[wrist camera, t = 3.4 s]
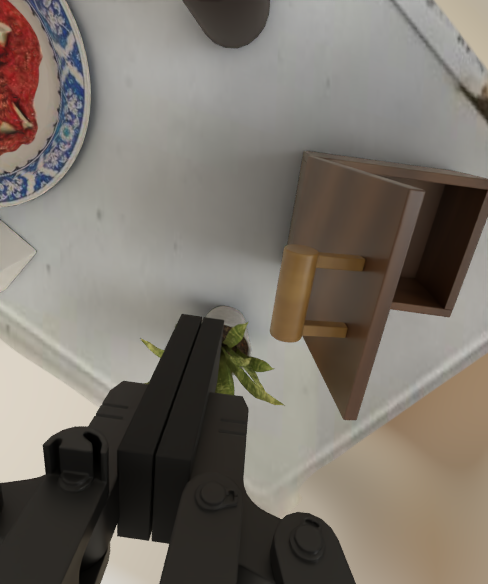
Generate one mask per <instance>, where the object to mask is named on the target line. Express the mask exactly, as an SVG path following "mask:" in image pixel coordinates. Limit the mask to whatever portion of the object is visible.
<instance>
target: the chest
mask: <svg viewBox="0 0 488 584" xmlns="http://www.w3.org/2000/svg"><path fill="white" fill-rule="evenodd" d="M308 156H315V157H319V158H323V159H326V160H329V161H332V162H336V163H339V164H342V165H345V166H348V167H352V168H355V169H358V170H361V171H365V172H368V173H371V174H374V175H377V176H381V177H384V178H387V179H390V180H394V181H397V182H400V183H403V184H406V185H410V186H413V187H416V188H419V189H423V190H425V195H424V198H423V202H422V205H421V208H420V212H419V215H418V218H417V222H416V225H415V228H414V231H413V235H412V238H411V241H410V245H409V248H408V251H407V255H406V258H405V261H404V265H403V268H402V271H401V274H400V278H399V281H398V284H397V288H396V291H395V294H394V298H393V301H392V304H391V308H390V309H393V310H401V311H408V312H415V313H422V314H429V315H436V316H444V317H450V316H451V313H452V310H453V308H454V305H455V303H456V300H457V297H458V295H459V292H460V289H461V286H462V284H463V281H464V278H465V276H466V273H467V270H468V268H469V265H470V262H471V260H472V257H473V254H474V252H475V249H476V246H477V244H478V241H479V238H480V236H481V233H482V230H483V227H484V225H485V222H486V219H487V217H488V179H487V178H483V177H478V176H474V175H470V174H465V173H461V172H456V171H451V170H443V169H436V168H429V167H421V166H414V165H407V164H399V163H392V162H385V161H377V160H370V159H363V158H355V157H348V156H341V155H333V154H326V153H319V152H311V151H304V152H303V157H302V163H301V169H300V175H299V180H298V186H297V192H296V198H295V203H294V209H293V215H292V220H291V226H290V232H289V238H288V243H287V245H291V244H293V238H294V233H295V227H296V222H297V216H298V210H299V205H300V199H301V194H302V188H303V183H304V177H305V171H306V166H307V160H308Z"/></svg>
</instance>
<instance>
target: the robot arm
mask: <svg viewBox="0 0 488 584" xmlns="http://www.w3.org/2000/svg"><path fill="white" fill-rule="evenodd" d="M223 328H224V320H222V319H215V318H207V317H204V318H203V321H202V317H200V316H193V315H186V314H181V317H180V319H179V321H178V323H177V325H176V327H175V329H174V331H173V333H172V336H171V338H170V340H169V342H168V344H167V346H166V348H165V350H164V352H163V354H162V357H161V359H160V361H159V363H158V365H157V367H156V369H155V371H154V373H153V375H152V378H151V380H150V382H149V384H142V383H135V382H128V381H123V382H121V383H120V384H118V385H117V386H116V387H114V388H113V389H112V390H110V392H109V393H108V395H107V397H106V398H105V400H104V401H103V404H102V405H101V406H100V408H99V410H98V411H97V413H96V416H94V418H93V420H92V421H91V423H90V425H89V426H88V427H72V428H69V429H65V430H62V431H60V432H59V433H57V434H55V435H53V436H51V437H50V438H49V439H48V440H47V441H46V442H45V443H44V444H43V452H44V461H45V471H46V475H43V476H41V477H37V478H33V479H28V480H21V481H13V482H7V483H0V584H100V583H101V580H102V578H103V575H104V572H105V569H106V567H107V564H108V561H109V555H110V541H111V538H112V535H113V533H114V530H115V528H116V525H117V533H118V535H117V536H120V537H127V538H134V539H141V540H147V541H149V538H150V535H151V532H152V541H155V542H161V543H168V544H169V547H168V552H167V555H166V559H165V563H164V567H163V571H162V576H161V580H160V584H356V583H355V581H354V578H353V575H352V573H351V570H350V568H349V565H348V563H347V561H346V558H345V555H344V553H343V550H342V548H341V545H340V543H339V540H338V539H337V537H336V535H335V533H334V532H333V530H332V529H331V527H329V526H328V525H327V524H326V523H325V522H324V521H323V520H322V519H320V518H318V517H316V516H314V515H311V514H310V513H301V512H296V513H292V514H289V515H286V516H285V517H284V518H283V519H280V518H278V517H276V516H273V515H271V514H269V513H267V512H265V511H264V510H262V509H260V508H259V507H258V506H257V505H255V504H254V503H253V502H252V501H251V499H250V498H249V496H248V495H247V493H246V490H245V488H244V481H243V475H244V462H245V449H246V434H247V422H248V407H247V405H246V403H245V401H244V399H243V396H235V395H228V394H221V393H215V389H216V385H217V379H218V370H219V362H220V353H221V345H222V337H223Z"/></svg>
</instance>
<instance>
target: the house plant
mask: <svg viewBox="0 0 488 584" xmlns="http://www.w3.org/2000/svg"><path fill="white" fill-rule="evenodd" d="M206 317H207V318H215V319H222V320H224V328H223V337H222V345H221V353H220V362H219V370H218V379H217V385H216V389H215V393H221V394H228V395H234V382H233V378H232V375H236V377H237V378H238V379H239V381H240V382H241V384H242V385H243V386H244V387H245V388H246V389H247V391H248V392H249V393H251V394H252V395H253V396H254V397H255V398H258V399H260V400H264V401H267V402H269V403H271V404H274V405H283V404H282V403H281V402H279V401H278V400H276V399H274V398H273V397H272V396H270V395H269V394H267V393H266V392H265V390H264V388H263V386H262V385H261V383H260V382H259V379H258V377H257V374H256V372H265V371H269V370H272V369H274V368H271V366H270V365H269V364H268V363H266V362H265V361H263V360H260V359H257V358H254V357H251V345H250V340H249V336H248V331H247V324H248V322H247V323H246V322H245V318H244V317H243V315H242V314H241V313H240V312H239V311H238V310H236V309H234V308H231V307H228V306H219V307H216V308H214V309H212V310H211V311H210V312H209V313H208V314H207V316H206ZM175 327H176V326H175ZM141 340H142V342H143V343H144V344H145V345H146V346H147V347H148V348H149V349H150V350H151V351H152V352H153V353H154V354H155V355H157V356H158V357H160V358H161V357H162V354H163V352H164V350H161V349H159V348H157V347H155V346H154V345H152V344H151V343H150V342H148V341H145V340H143V339H141ZM243 369H245V370H246V371H247V373H248V374H249V375H250V376H251V378H252V379H253V381H254V382H255V383H256V384H257V385H256V384H255V383H254V382H253V381H252V380H251V379H250V378H249V376H248V375H247V374H246V373H245V372H244V370H243ZM255 371H256V372H255ZM145 384H149V382H148V383H145ZM284 406H285V405H284Z"/></svg>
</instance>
